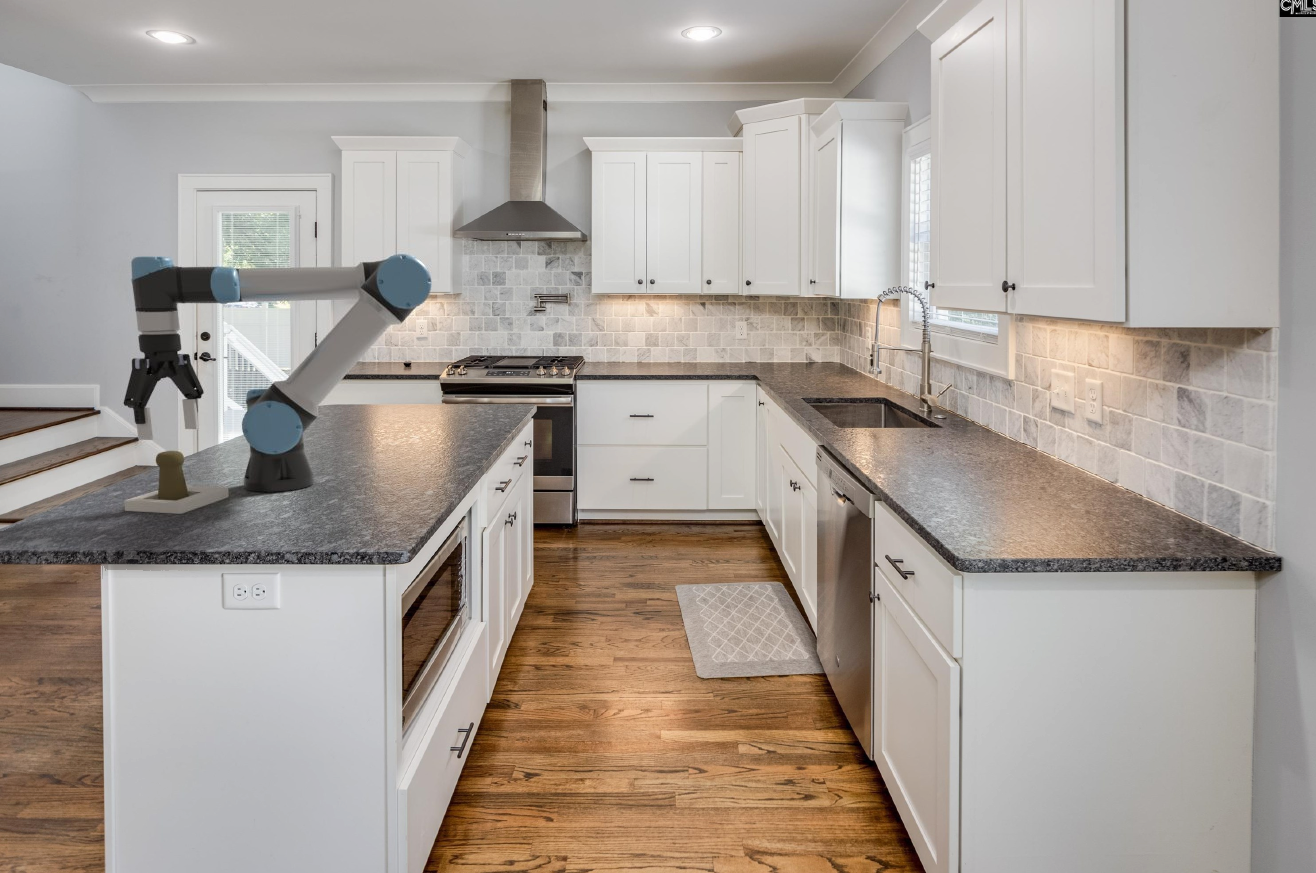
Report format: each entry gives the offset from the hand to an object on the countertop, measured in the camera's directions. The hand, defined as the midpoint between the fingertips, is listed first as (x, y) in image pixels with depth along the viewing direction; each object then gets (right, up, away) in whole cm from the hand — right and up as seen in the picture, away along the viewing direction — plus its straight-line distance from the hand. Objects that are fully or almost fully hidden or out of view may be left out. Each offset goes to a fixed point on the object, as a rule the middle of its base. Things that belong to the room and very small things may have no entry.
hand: (169, 434), depth 179 cm
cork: (0, -15, +2) cm, 15 cm away
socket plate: (0, -15, +4) cm, 15 cm away
